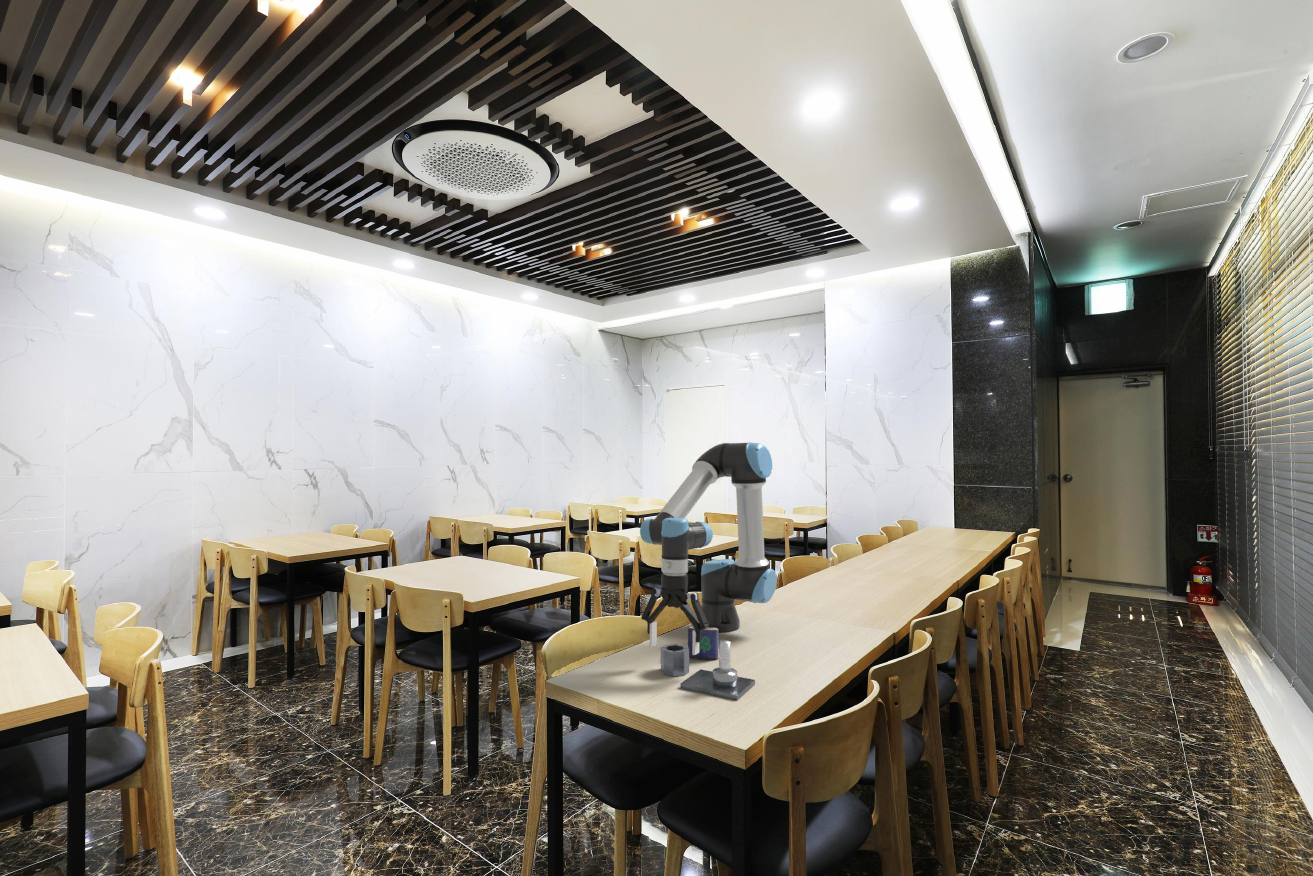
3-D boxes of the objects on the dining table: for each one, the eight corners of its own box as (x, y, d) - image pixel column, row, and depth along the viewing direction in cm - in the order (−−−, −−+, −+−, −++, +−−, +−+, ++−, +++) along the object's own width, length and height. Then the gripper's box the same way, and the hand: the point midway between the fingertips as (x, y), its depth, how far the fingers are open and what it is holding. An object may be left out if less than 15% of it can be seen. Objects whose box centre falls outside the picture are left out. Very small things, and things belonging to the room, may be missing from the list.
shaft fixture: (700, 673, 171) (700, 630, 171) (755, 684, 163) (754, 638, 163) (680, 688, 160) (680, 641, 161) (737, 700, 152) (737, 651, 153)
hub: (669, 665, 178) (669, 642, 178) (692, 669, 174) (692, 646, 174) (656, 673, 171) (656, 649, 171) (680, 678, 168) (680, 654, 168)
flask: (719, 657, 184) (718, 621, 184) (717, 661, 181) (717, 624, 181) (688, 655, 186) (688, 620, 186) (687, 658, 183) (686, 622, 183)
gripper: (630, 571, 176) (629, 646, 175) (709, 580, 164) (708, 661, 163) (643, 567, 183) (643, 639, 182) (720, 575, 170) (720, 653, 169)
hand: (674, 649), depth 172 cm, fingers open, 13 cm apart
